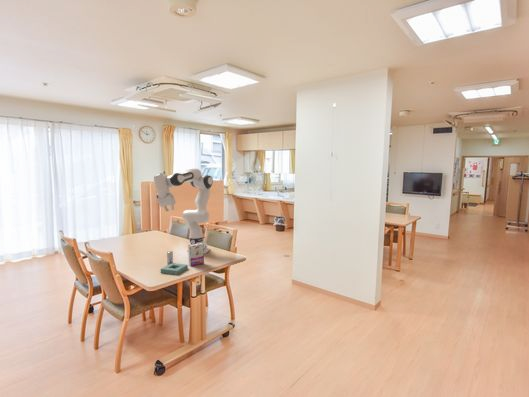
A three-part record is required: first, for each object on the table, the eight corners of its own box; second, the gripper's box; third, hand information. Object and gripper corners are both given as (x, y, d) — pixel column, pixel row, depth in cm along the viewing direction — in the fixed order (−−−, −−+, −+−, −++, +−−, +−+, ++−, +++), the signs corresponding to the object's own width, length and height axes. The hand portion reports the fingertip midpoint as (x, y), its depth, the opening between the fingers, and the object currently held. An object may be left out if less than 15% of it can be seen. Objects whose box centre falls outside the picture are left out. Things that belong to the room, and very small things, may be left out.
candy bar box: (201, 262, 243) (201, 242, 241) (204, 264, 239) (203, 244, 237) (188, 264, 237) (188, 244, 235) (190, 266, 232) (190, 246, 231)
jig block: (171, 266, 232) (171, 263, 231) (187, 268, 228) (187, 264, 227) (160, 272, 218) (160, 268, 218) (177, 274, 214) (177, 270, 214)
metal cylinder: (169, 263, 241) (169, 251, 240) (174, 263, 239) (173, 251, 238) (166, 264, 236) (165, 252, 235) (170, 265, 235) (170, 252, 234)
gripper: (174, 191, 229) (180, 208, 231) (162, 194, 243) (167, 210, 245) (167, 193, 225) (173, 210, 226) (155, 196, 239) (160, 213, 241)
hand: (170, 210), depth 236 cm, fingers open, 8 cm apart
